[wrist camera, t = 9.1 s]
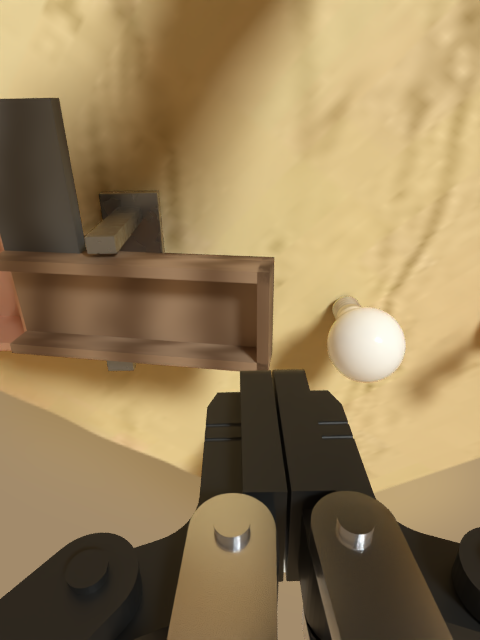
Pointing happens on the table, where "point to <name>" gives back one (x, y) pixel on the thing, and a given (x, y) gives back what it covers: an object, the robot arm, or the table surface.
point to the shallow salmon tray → (9, 310)
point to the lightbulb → (364, 341)
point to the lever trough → (115, 271)
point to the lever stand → (127, 232)
